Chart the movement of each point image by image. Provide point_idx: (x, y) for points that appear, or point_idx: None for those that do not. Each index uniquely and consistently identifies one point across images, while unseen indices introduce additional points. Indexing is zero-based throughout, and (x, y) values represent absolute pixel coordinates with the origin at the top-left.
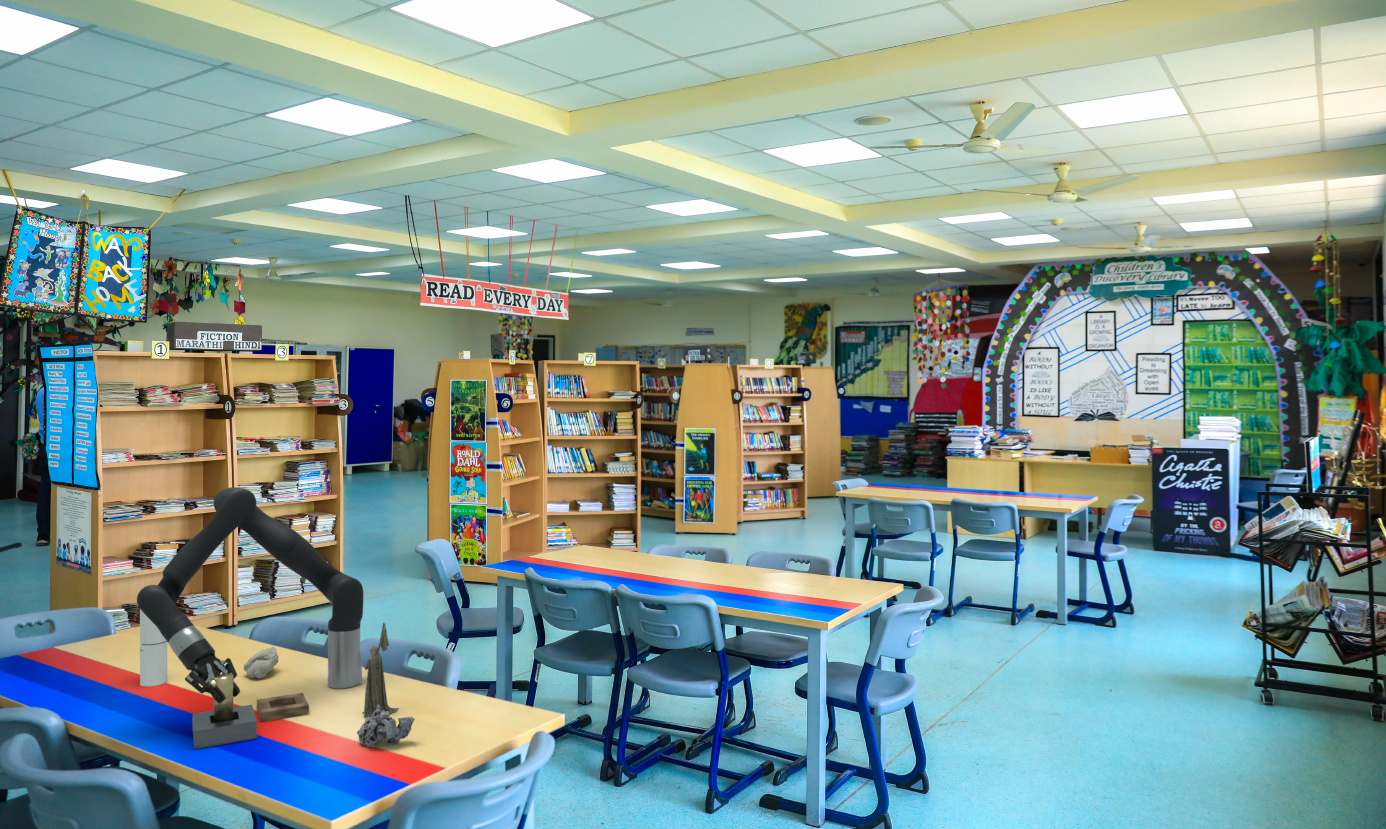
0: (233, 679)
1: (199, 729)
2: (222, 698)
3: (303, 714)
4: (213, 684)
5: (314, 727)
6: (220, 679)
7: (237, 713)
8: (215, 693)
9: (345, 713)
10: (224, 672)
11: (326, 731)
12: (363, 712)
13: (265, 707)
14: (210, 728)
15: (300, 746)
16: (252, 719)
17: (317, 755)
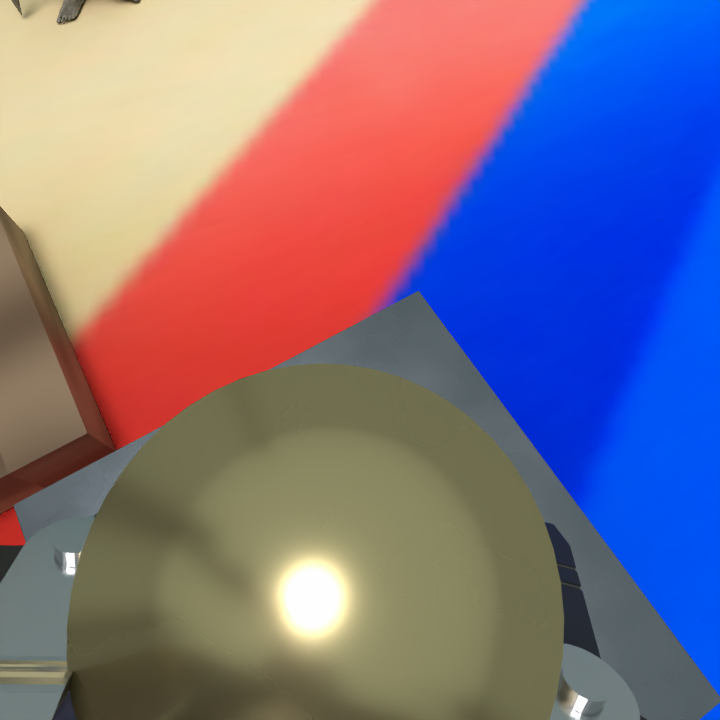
0: (87, 516)
1: (668, 673)
2: None
3: (30, 251)
4: (584, 714)
5: (243, 139)
6: (548, 550)
7: None
8: (580, 612)
9: (54, 81)
10: (50, 707)
11: (301, 79)
12: (69, 14)
13: None
14: (624, 574)
15: (494, 112)
16: (387, 333)
17: (579, 27)
